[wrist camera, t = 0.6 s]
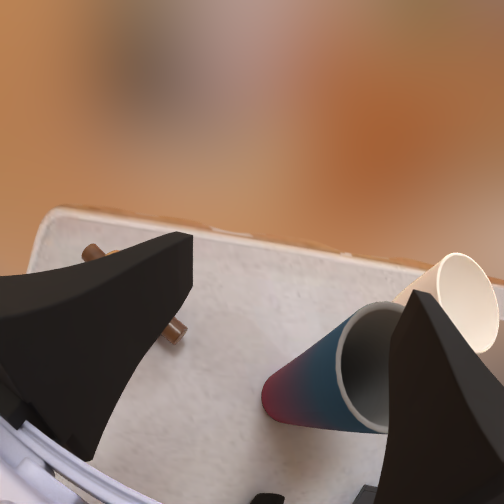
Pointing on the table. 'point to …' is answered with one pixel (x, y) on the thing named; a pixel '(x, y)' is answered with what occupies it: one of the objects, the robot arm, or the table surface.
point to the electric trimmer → (268, 499)
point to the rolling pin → (175, 327)
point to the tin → (366, 495)
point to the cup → (339, 376)
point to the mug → (461, 298)
